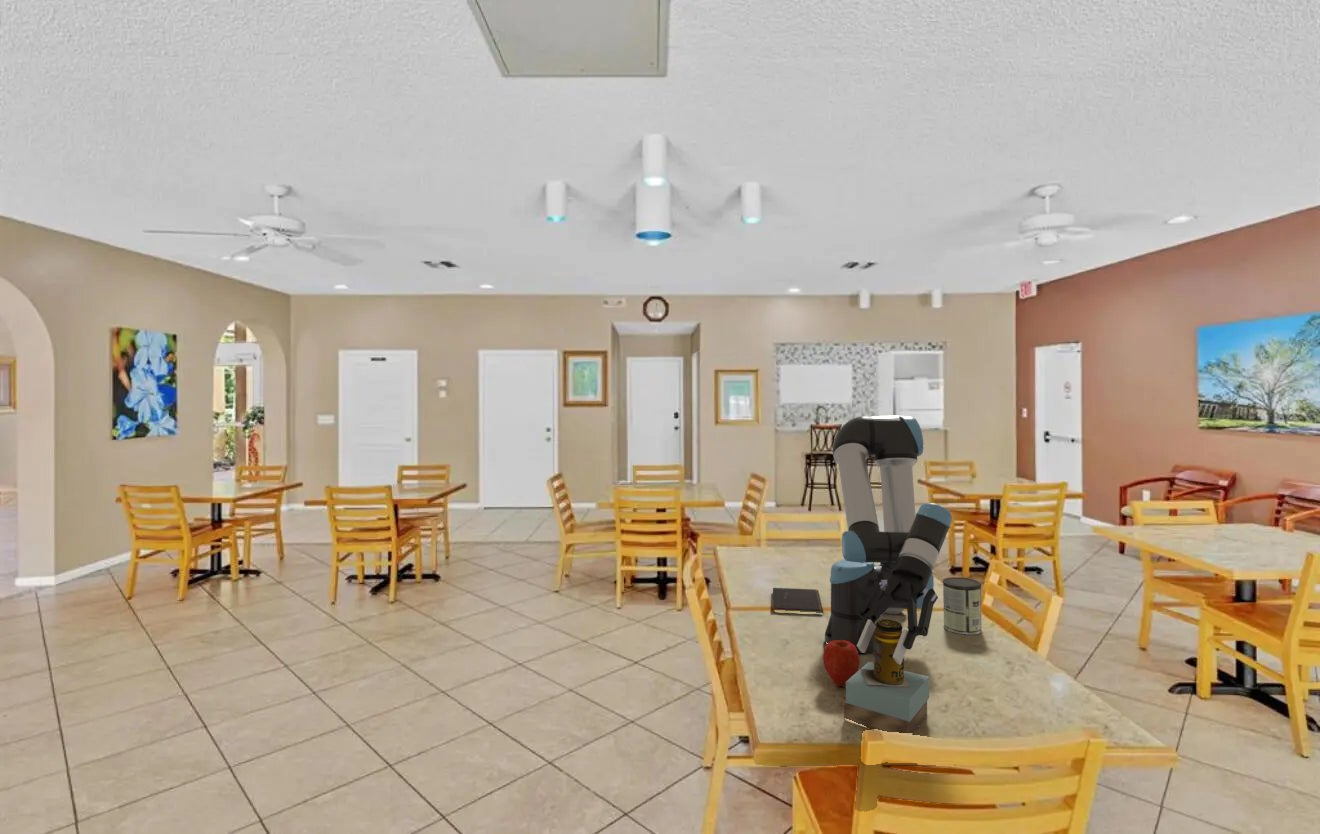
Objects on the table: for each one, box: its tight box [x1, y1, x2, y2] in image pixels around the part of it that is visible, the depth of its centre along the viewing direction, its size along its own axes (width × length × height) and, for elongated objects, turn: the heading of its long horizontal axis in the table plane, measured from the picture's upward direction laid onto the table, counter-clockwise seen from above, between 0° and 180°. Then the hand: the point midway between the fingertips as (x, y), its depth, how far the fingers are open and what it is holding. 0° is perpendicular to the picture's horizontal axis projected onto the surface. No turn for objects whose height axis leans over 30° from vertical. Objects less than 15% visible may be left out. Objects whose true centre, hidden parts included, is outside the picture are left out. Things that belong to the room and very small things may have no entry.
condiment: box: [859, 619, 910, 687], centre depth 130 cm, size 7×8×12 cm
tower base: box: [843, 700, 928, 734], centre depth 130 cm, size 13×13×4 cm
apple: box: [822, 640, 861, 687], centre depth 146 cm, size 9×8×11 cm
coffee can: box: [942, 576, 983, 636], centre depth 182 cm, size 10×10×14 cm
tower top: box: [845, 661, 930, 722], centre depth 130 cm, size 13×13×4 cm
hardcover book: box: [771, 587, 824, 614], centre depth 209 cm, size 16×23×2 cm
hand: (878, 655), depth 128 cm, fingers open, 7 cm apart
